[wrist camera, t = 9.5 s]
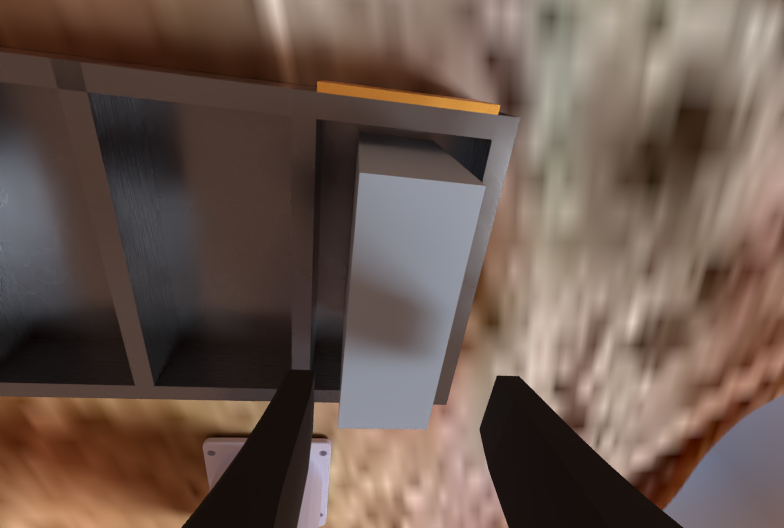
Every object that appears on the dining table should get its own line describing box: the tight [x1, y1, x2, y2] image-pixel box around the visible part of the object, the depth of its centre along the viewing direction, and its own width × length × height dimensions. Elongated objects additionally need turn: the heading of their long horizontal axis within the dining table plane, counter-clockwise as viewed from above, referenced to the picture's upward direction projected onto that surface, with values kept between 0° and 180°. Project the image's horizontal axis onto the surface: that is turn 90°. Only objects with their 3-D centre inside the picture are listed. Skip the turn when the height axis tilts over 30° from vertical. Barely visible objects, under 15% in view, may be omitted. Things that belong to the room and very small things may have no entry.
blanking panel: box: [338, 132, 486, 429], centre depth 14 cm, size 9×3×7 cm, turn 173°
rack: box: [0, 46, 520, 405], centre depth 16 cm, size 14×21×4 cm, turn 83°
